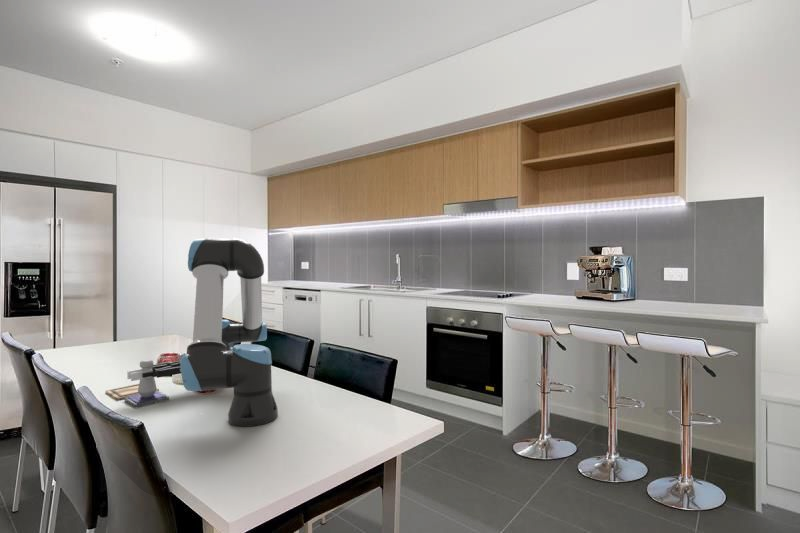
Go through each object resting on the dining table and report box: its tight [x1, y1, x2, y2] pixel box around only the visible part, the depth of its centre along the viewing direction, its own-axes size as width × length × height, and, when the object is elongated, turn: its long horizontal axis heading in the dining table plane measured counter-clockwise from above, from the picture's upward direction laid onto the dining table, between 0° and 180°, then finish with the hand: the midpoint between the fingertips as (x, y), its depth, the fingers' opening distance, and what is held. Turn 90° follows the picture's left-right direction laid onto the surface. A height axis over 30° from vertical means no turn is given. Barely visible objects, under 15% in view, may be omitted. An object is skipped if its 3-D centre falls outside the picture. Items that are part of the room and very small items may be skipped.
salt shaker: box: [138, 359, 158, 398], centre depth 160 cm, size 6×6×13 cm
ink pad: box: [124, 390, 170, 409], centre depth 160 cm, size 11×11×2 cm
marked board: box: [105, 383, 160, 401], centre depth 170 cm, size 14×14×1 cm
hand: (129, 376), depth 156 cm, fingers closed on salt shaker, 3 cm apart
